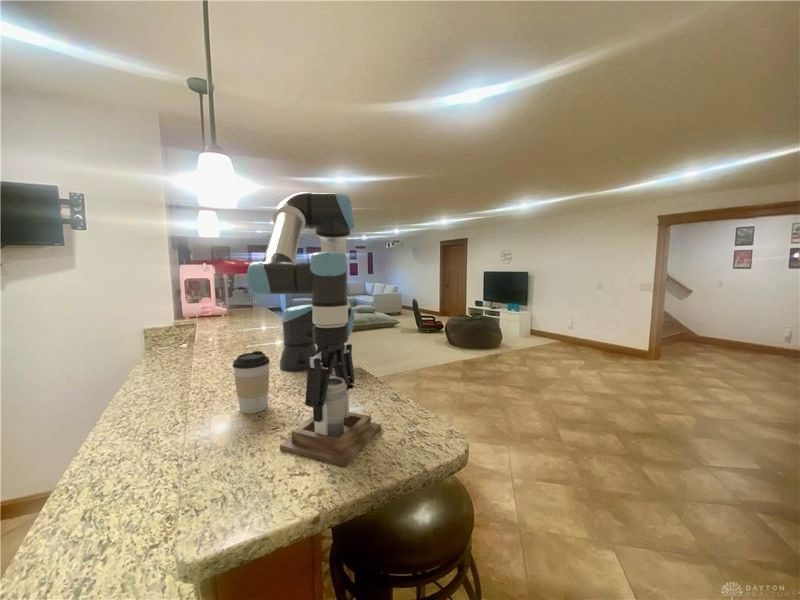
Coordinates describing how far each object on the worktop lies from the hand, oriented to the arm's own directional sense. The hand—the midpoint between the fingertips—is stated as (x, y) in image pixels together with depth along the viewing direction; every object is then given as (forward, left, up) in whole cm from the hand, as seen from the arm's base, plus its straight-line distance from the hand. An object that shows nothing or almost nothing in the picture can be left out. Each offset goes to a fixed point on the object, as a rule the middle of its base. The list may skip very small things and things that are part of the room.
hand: (332, 424), depth 72 cm
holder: (0, 0, -3) cm, 3 cm away
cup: (0, 0, -2) cm, 2 cm away
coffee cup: (-5, -29, -3) cm, 30 cm away
